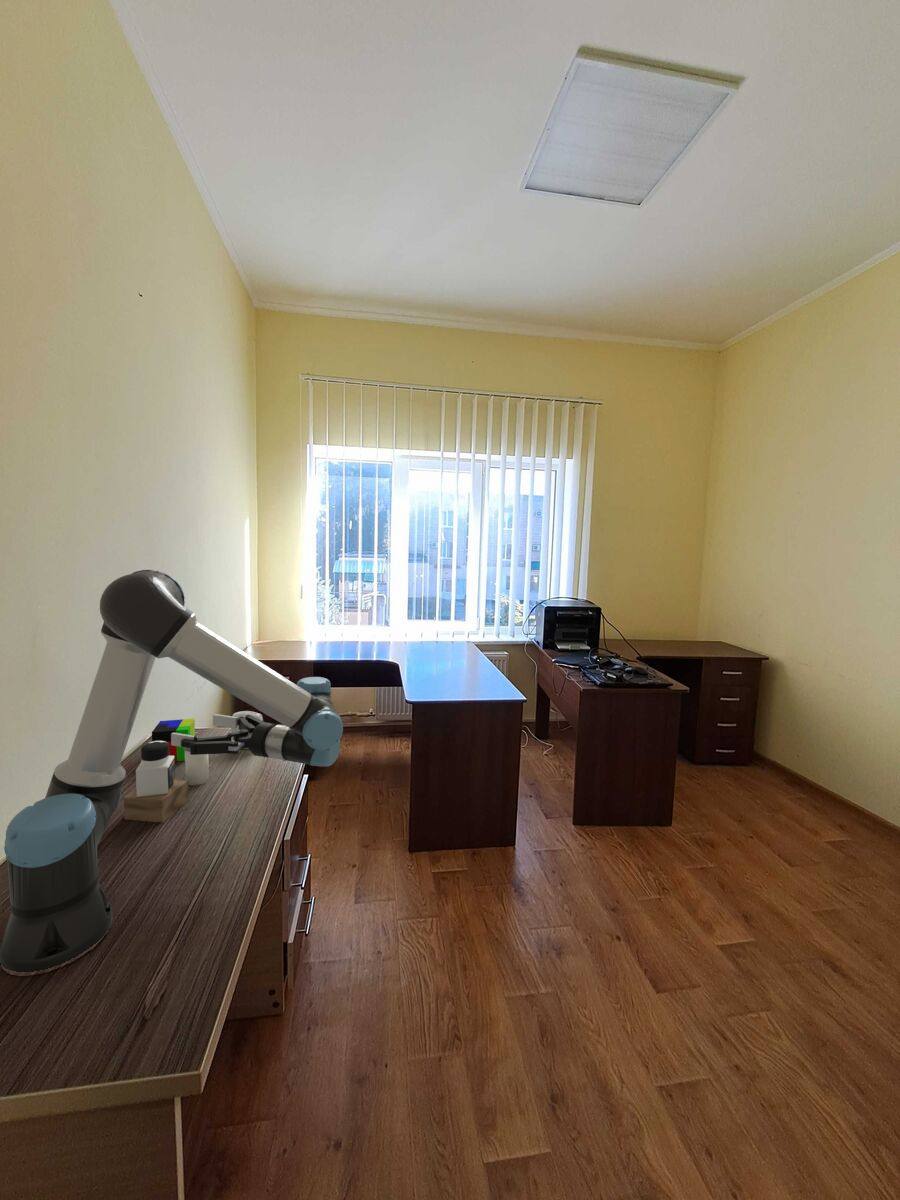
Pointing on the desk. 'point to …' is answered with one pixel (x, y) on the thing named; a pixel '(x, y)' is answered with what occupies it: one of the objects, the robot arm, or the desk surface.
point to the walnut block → (156, 804)
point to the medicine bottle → (155, 770)
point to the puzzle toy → (174, 726)
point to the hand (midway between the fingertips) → (194, 728)
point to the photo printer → (243, 714)
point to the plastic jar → (196, 768)
